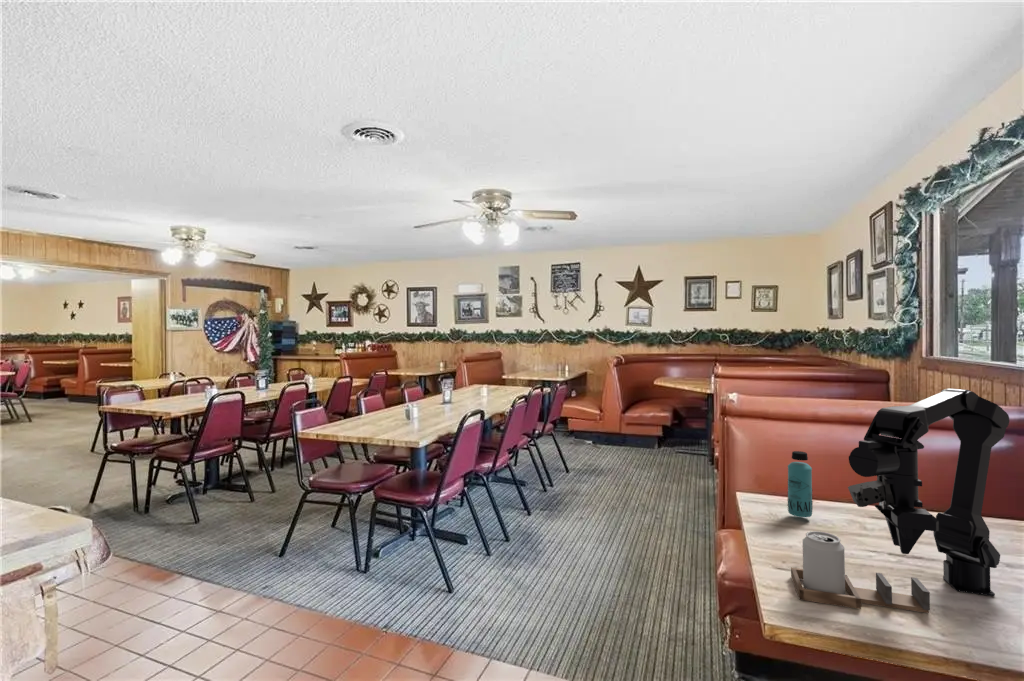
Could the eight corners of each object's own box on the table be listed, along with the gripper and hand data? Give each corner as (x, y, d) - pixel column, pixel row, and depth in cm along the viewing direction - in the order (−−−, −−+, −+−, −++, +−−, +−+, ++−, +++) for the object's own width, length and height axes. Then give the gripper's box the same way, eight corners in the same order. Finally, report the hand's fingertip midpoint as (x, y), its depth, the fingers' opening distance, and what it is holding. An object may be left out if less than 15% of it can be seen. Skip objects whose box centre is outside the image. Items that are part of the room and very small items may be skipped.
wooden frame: (913, 593, 102) (912, 573, 102) (935, 620, 92) (934, 597, 92) (791, 576, 110) (790, 557, 110) (799, 599, 100) (799, 578, 100)
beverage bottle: (789, 513, 150) (788, 448, 151) (815, 518, 146) (813, 451, 146) (785, 519, 145) (784, 452, 145) (811, 524, 141) (810, 455, 141)
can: (844, 606, 98) (843, 546, 98) (800, 594, 103) (799, 537, 103) (846, 590, 104) (845, 534, 104) (805, 580, 108) (804, 526, 109)
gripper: (840, 458, 110) (841, 527, 110) (865, 480, 93) (867, 562, 93) (901, 462, 106) (902, 534, 106) (939, 486, 89) (940, 572, 88)
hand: (900, 549), depth 98 cm, fingers open, 4 cm apart
